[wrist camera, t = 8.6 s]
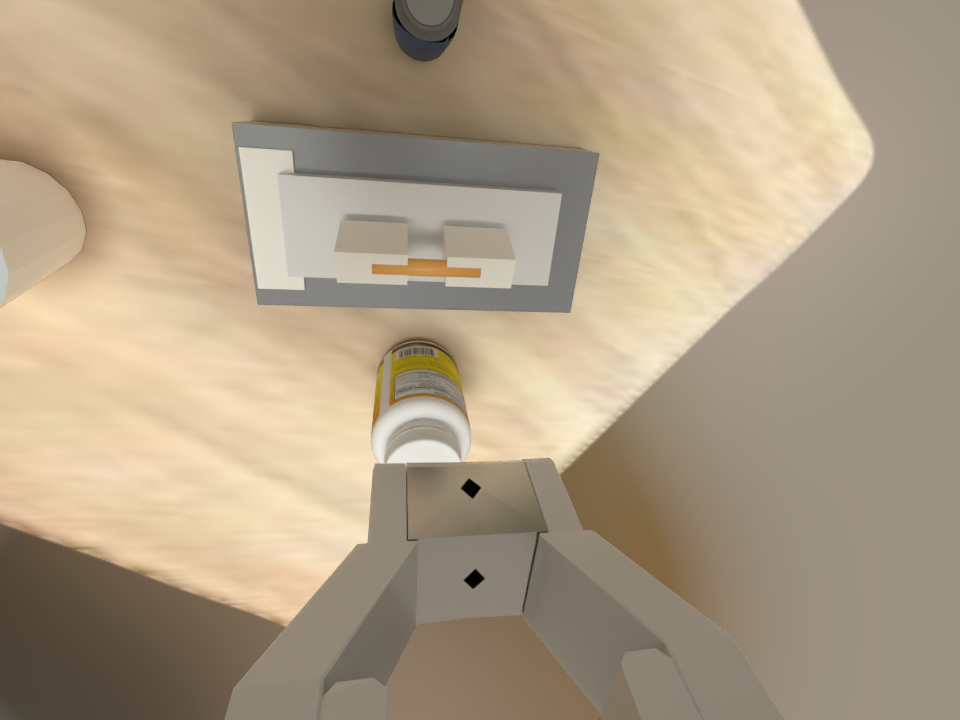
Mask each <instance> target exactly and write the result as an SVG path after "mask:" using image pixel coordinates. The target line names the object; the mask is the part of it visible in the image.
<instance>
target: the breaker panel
mask: <svg viewBox="0 0 960 720" xmlns="http://www.w3.org/2000/svg"><path fill="white" fill-rule="evenodd" d="M232 127H233V134H234V141H235V148H236V155H237V162H238V169H239V176H240V183H241V190H242V197H243V204H244V212H245V219H246V226H247V233H248V240H249V247H250V254H251V261H252V268H253V275H254V282H255V289H256V296H257V303H258V305H294V306H332V307H371V308H409V309H447V310H486V311H524V312H562V313H570V311H571V305H572V300H573V294H574V289H575V283H576V278H577V273H578V267H579V262H580V256H581V251H582V245H583V240H584V234H585V229H586V223H587V218H588V213H589V207H590V202H591V196H592V191H593V185H594V180H595V174H596V169H597V163H598V158H599V153H596V152H592V151H588V150H584V149H580V148H568V147H556V146H544V145H532V144H520V143H508V142H496V141H485V140H473V139H461V138H449V137H437V136H425V135H413V134H401V133H389V132H378V131H366V130H354V129H342V128H330V127H318V126H306V125H294V124H283V123H271V122H259V121H244V122H234V123H232ZM341 220H352V221H370V222H388V223H407V224H408V258H415V259H439V260H443V258H442V247H443V233H444V226H462V227H480V228H499V229H507V232H508V235H509V238H510V242H511V245H512V248H513V251H514V254H515V257H516V264H515V269H514V275H513V280H512V285H511V289H509V288H480V287H450V286H445V278H444V277H429V276H407V285H391V284H362V283H337V277H336V267H335V258H334V249H335V245H336V240H337V235H338V231H339V226H340V221H341Z"/></svg>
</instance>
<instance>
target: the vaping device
mask: <svg viewBox="0 0 960 720" xmlns="http://www.w3.org/2000/svg"><path fill="white" fill-rule="evenodd" d="M462 2H463V0H394V1H393V12H392V15H393V23H394V30H395V35H396V39H397V42H398V44H399V45H400V47H401V49H402V50H403V51H404V52H405V53H406V54H407V55H409V56H410V57H412V58H414V59H416V60H421V61H430V60H433V59H435V58H437V57H439V56H440V55H441V54H442V53H443V52H444V50H445V49H446V47H447V46H448V45H449V43H450V42H451V41H452V39H453V38H454V35H455V33H456V30H457V25H458V20H459V15H460V10H461V6H462ZM448 37H449V38H448ZM447 39H448V41H446V40H447Z"/></svg>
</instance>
